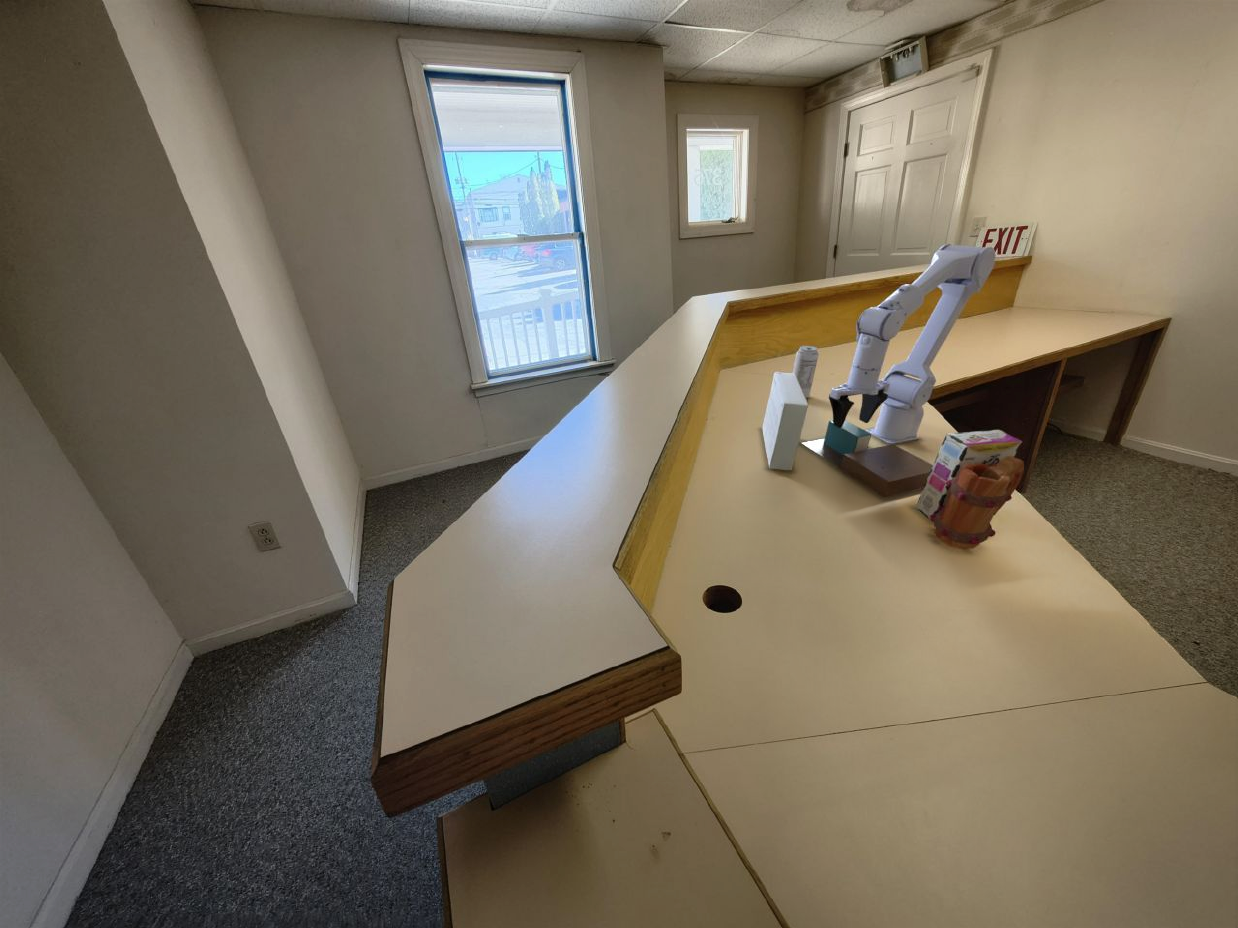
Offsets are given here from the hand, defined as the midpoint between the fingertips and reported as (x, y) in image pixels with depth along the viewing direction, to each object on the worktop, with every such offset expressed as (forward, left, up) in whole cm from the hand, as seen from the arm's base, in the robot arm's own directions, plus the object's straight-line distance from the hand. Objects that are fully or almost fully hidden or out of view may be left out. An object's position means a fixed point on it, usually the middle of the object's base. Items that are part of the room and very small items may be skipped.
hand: (850, 423), depth 104 cm
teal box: (0, 0, -7) cm, 7 cm away
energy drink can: (-13, -33, -8) cm, 36 cm away
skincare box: (+14, -7, -8) cm, 17 cm away
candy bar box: (-1, +26, -8) cm, 28 cm away
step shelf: (0, +6, -7) cm, 10 cm away
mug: (+3, +32, -8) cm, 33 cm away
